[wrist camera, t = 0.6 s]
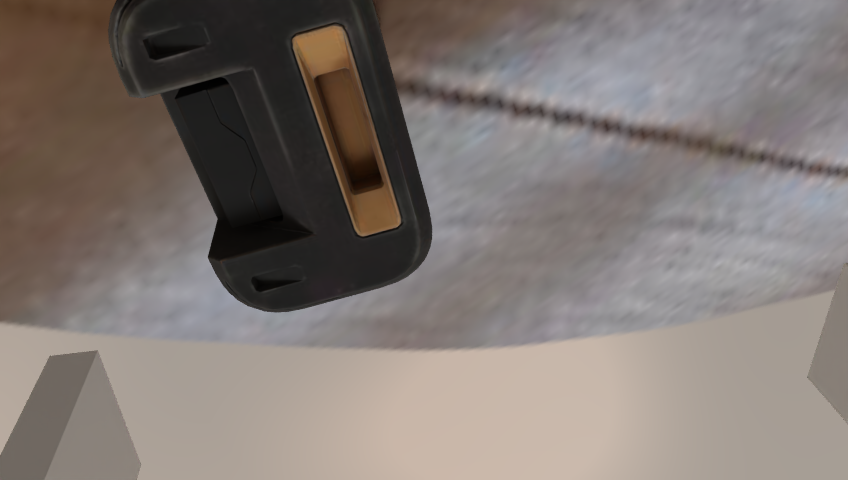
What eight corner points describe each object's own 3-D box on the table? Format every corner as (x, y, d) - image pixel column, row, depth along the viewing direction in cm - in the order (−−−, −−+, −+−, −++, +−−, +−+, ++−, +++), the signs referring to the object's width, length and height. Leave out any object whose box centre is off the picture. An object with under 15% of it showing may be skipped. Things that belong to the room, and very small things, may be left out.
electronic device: (207, -96, 31) (72, -5, 14) (334, -132, 31) (350, -82, 14) (277, 96, 36) (239, 334, 19) (388, 66, 36) (447, 278, 19)
